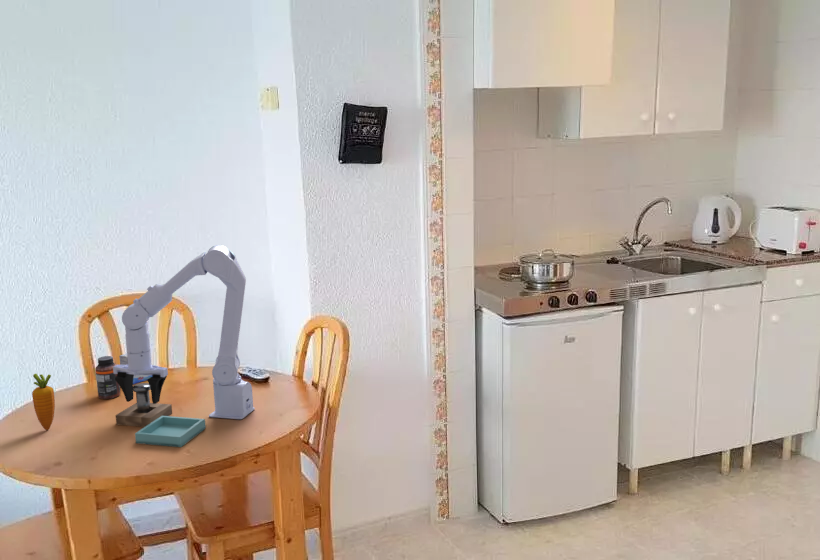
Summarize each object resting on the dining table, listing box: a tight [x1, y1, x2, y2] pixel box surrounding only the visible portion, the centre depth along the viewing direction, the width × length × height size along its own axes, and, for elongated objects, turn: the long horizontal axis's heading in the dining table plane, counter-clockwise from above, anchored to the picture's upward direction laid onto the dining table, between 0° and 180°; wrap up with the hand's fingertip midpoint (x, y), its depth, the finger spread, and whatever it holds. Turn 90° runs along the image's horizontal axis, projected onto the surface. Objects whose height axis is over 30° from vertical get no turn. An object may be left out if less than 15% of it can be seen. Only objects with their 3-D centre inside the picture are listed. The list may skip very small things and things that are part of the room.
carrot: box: [31, 373, 56, 431], centre depth 200 cm, size 5×5×15 cm
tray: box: [134, 415, 207, 448], centre depth 196 cm, size 12×12×2 cm
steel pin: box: [133, 382, 151, 413], centre depth 207 cm, size 4×4×9 cm
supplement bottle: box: [94, 355, 121, 400], centre depth 225 cm, size 6×6×11 cm
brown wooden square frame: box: [115, 402, 173, 428], centre depth 208 cm, size 10×10×2 cm
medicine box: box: [119, 353, 152, 386], centre depth 239 cm, size 8×4×9 cm, turn 143°
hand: (142, 401), depth 207 cm, fingers open, 7 cm apart
